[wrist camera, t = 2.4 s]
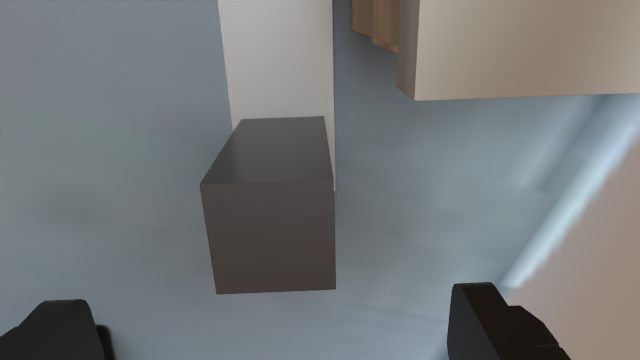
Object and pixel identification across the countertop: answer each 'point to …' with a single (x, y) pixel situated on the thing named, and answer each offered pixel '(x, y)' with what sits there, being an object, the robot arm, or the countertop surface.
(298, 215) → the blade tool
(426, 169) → the countertop surface
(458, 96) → the cabinet
